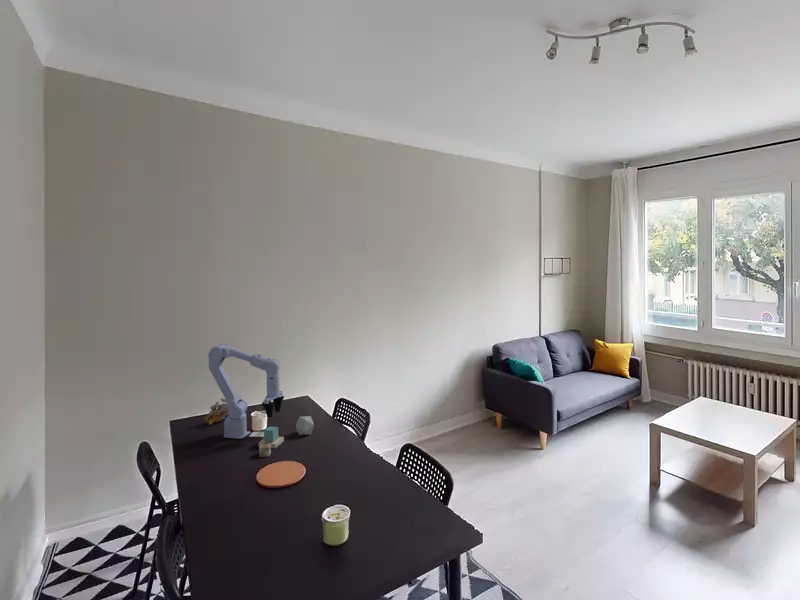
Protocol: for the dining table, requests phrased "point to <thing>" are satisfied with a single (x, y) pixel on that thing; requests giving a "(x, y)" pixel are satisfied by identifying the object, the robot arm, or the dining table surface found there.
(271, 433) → the teal cube
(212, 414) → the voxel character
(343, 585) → the dining table surface
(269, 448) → the block
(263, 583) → the dining table surface
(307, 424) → the die
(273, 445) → the birch slab
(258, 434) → the blueprint card
